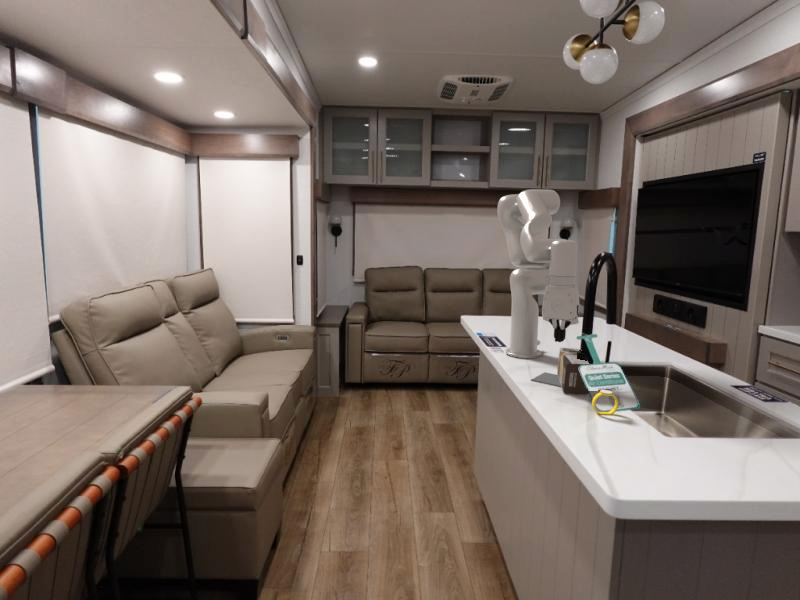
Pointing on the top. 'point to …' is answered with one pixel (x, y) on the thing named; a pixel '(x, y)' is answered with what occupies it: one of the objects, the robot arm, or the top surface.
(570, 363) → the coffee box
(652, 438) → the top surface
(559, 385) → the mat
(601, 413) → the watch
